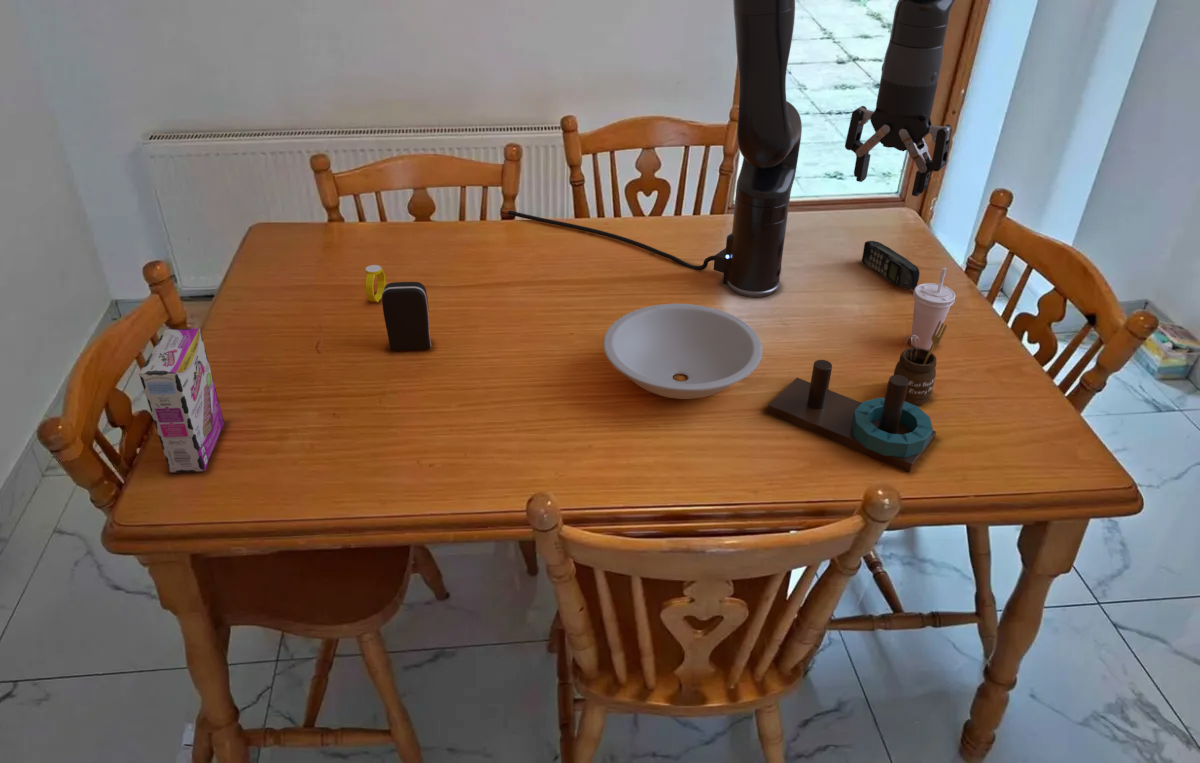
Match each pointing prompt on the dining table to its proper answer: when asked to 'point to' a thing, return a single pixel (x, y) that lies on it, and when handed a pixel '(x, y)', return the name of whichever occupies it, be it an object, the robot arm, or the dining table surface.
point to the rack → (842, 412)
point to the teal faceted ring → (892, 442)
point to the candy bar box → (183, 399)
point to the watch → (369, 284)
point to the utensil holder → (919, 369)
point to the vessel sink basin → (682, 349)
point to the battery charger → (406, 316)
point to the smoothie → (930, 310)
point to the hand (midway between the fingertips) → (888, 187)
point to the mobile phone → (890, 265)
